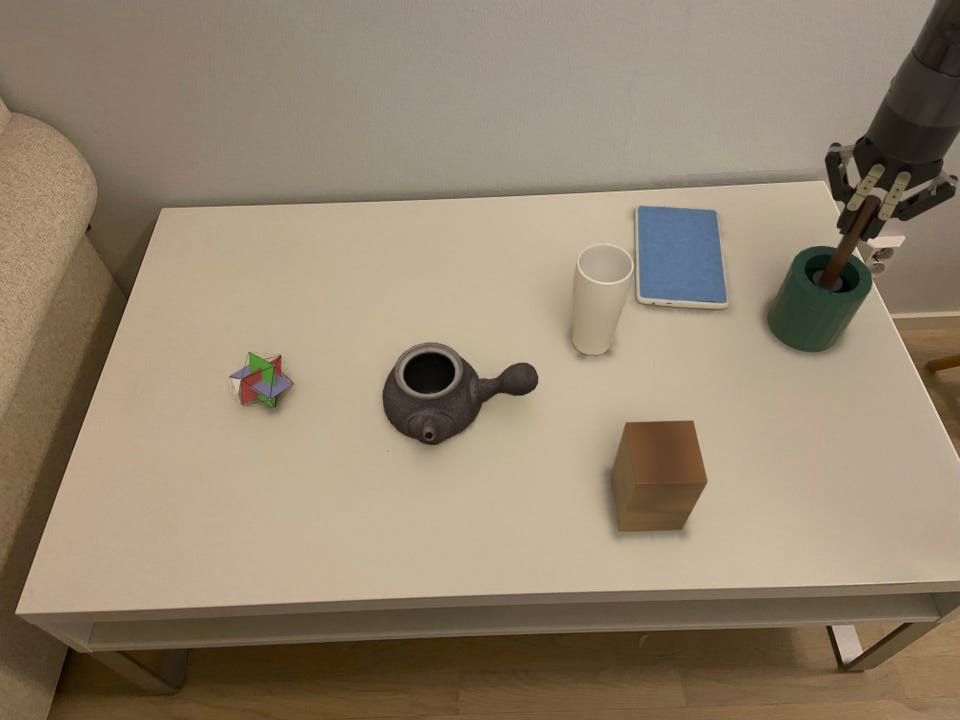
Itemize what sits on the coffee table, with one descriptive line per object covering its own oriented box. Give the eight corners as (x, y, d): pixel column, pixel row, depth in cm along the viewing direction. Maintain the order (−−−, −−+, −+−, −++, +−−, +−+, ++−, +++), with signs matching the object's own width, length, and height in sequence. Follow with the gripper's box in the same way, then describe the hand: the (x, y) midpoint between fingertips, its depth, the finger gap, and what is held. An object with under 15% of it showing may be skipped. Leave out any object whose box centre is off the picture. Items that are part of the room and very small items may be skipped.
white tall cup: (555, 340, 93) (563, 262, 81) (589, 313, 96) (603, 233, 84) (593, 370, 90) (607, 293, 78) (627, 342, 93) (646, 263, 81)
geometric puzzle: (271, 344, 91) (230, 340, 84) (312, 366, 89) (273, 363, 82) (251, 394, 92) (208, 394, 85) (291, 417, 90) (250, 419, 82)
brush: (830, 301, 92) (893, 195, 77) (824, 320, 90) (887, 215, 75) (802, 292, 93) (859, 185, 78) (795, 310, 91) (852, 204, 76)
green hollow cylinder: (847, 312, 95) (879, 261, 87) (831, 362, 90) (864, 312, 82) (777, 288, 98) (802, 236, 90) (759, 335, 93) (783, 285, 85)
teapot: (380, 471, 83) (367, 428, 75) (387, 365, 92) (376, 316, 84) (539, 466, 83) (544, 423, 74) (530, 360, 92) (534, 311, 84)
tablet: (728, 311, 96) (730, 305, 95) (635, 305, 97) (636, 298, 96) (716, 215, 107) (719, 208, 106) (633, 210, 108) (635, 203, 107)
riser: (670, 473, 82) (693, 420, 72) (681, 530, 78) (708, 482, 68) (610, 474, 82) (625, 422, 72) (618, 531, 78) (635, 484, 68)
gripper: (846, 102, 67) (785, 234, 81) (1004, 143, 63) (911, 275, 77) (862, 62, 71) (801, 195, 85) (1012, 99, 67) (922, 232, 81)
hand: (854, 233), depth 81 cm, fingers closed on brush, 2 cm apart
